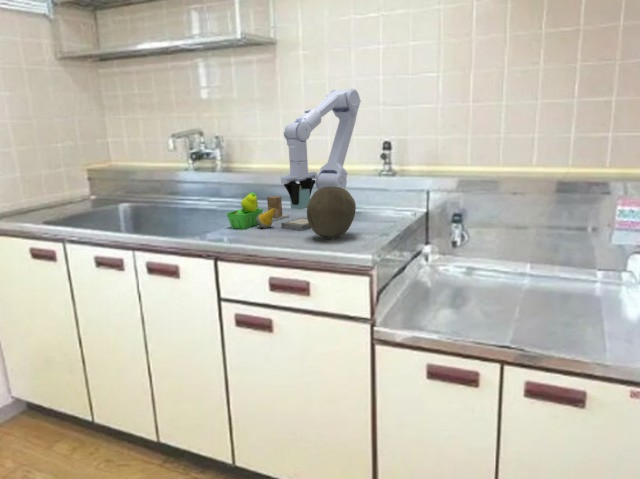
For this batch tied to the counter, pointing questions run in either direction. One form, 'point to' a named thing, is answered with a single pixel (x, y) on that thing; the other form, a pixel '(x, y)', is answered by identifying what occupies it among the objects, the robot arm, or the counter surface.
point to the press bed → (297, 224)
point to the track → (280, 217)
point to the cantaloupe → (331, 212)
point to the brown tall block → (275, 205)
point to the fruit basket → (245, 213)
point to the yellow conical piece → (265, 219)
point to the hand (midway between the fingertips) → (300, 203)
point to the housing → (302, 199)
